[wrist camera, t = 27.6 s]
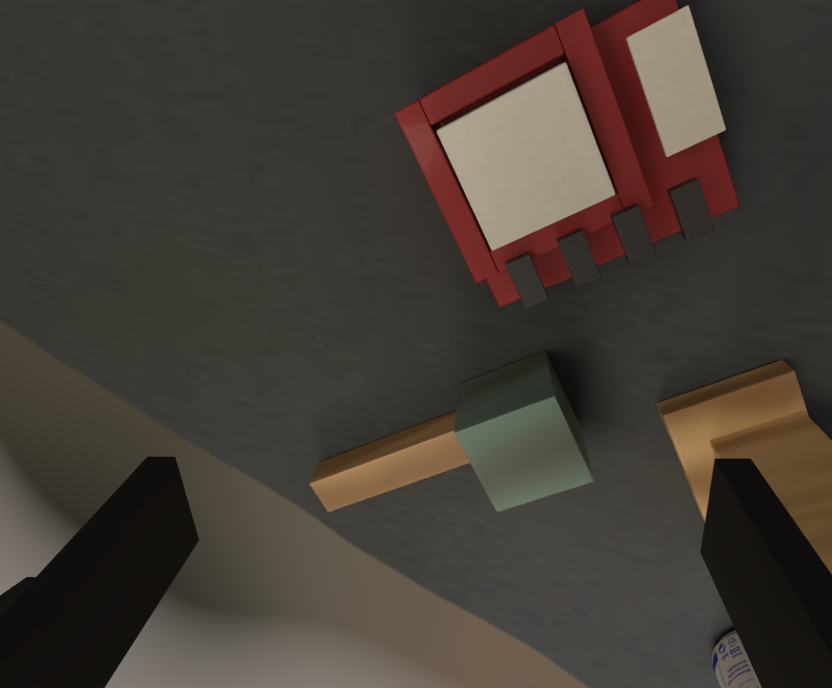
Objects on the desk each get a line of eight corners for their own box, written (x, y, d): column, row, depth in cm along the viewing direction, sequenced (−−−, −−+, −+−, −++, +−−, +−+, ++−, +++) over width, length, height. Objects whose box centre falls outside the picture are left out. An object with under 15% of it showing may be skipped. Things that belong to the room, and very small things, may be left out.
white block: (439, 128, 26) (435, 130, 24) (561, 63, 24) (565, 61, 22) (491, 242, 27) (491, 251, 26) (608, 188, 26) (616, 194, 24)
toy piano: (407, 109, 29) (393, 113, 25) (650, -25, 26) (680, -47, 22) (495, 294, 33) (495, 323, 28) (720, 197, 29) (758, 214, 25)
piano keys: (445, 133, 25) (444, 134, 25) (686, 5, 22) (691, 3, 22) (524, 305, 28) (525, 309, 27) (749, 211, 25) (754, 214, 24)
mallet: (307, 443, 38) (279, 497, 33) (545, 350, 33) (554, 395, 28) (348, 506, 40) (327, 566, 35) (579, 425, 35) (594, 481, 30)
